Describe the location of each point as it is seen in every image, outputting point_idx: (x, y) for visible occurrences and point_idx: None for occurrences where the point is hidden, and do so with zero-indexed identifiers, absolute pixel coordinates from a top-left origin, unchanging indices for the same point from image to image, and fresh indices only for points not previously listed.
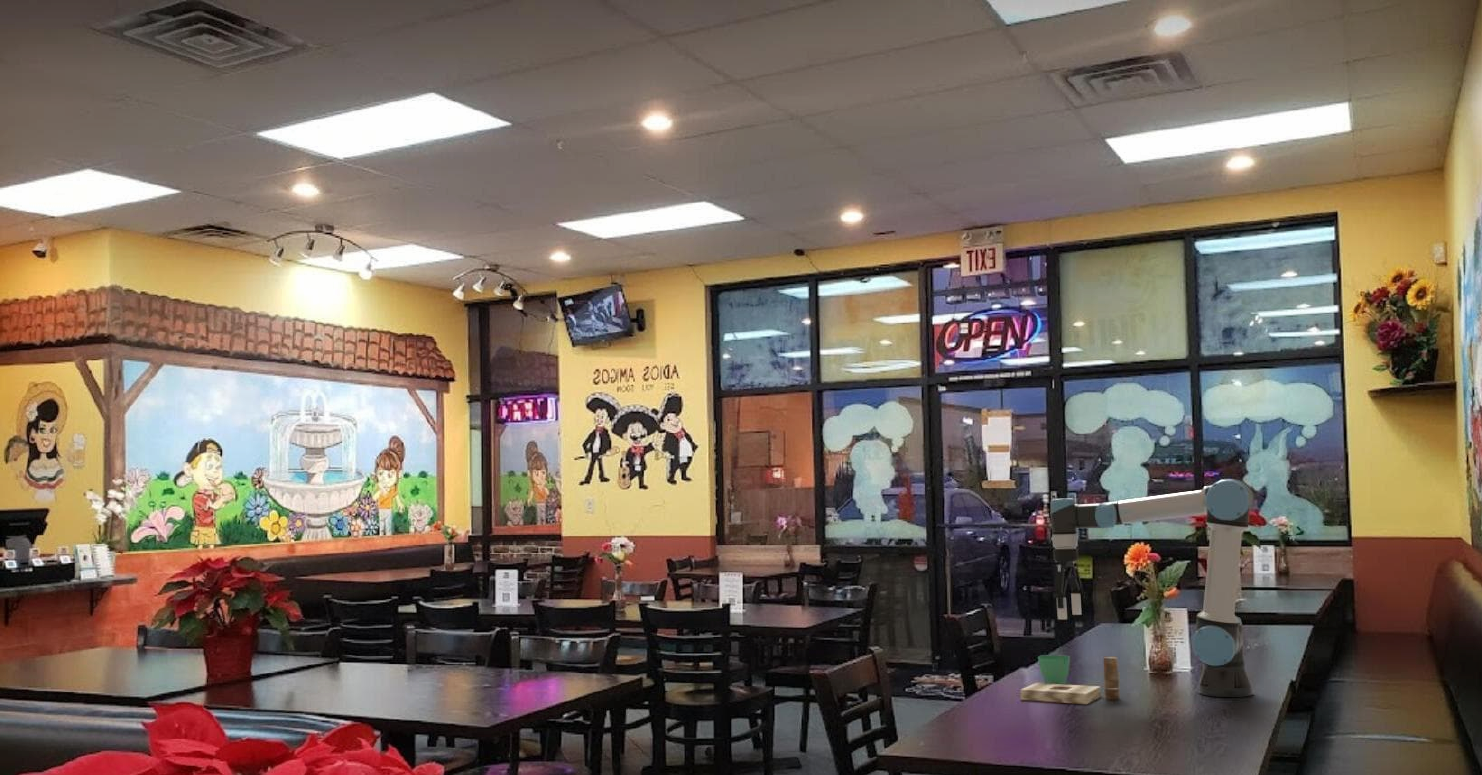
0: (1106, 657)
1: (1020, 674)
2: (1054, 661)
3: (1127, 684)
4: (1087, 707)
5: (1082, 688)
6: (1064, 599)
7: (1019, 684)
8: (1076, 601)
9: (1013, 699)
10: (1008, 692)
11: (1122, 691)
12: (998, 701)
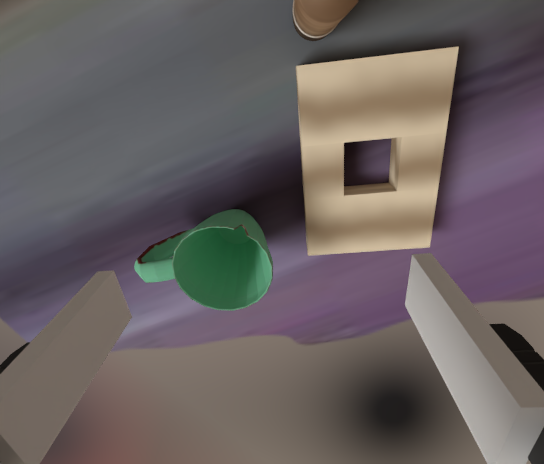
0: (323, 4)
1: None
2: (267, 249)
3: (54, 84)
4: (502, 21)
5: (356, 104)
6: (533, 390)
7: (223, 310)
8: (63, 367)
9: (420, 250)
10: (332, 292)
11: (175, 43)
12: (457, 266)
